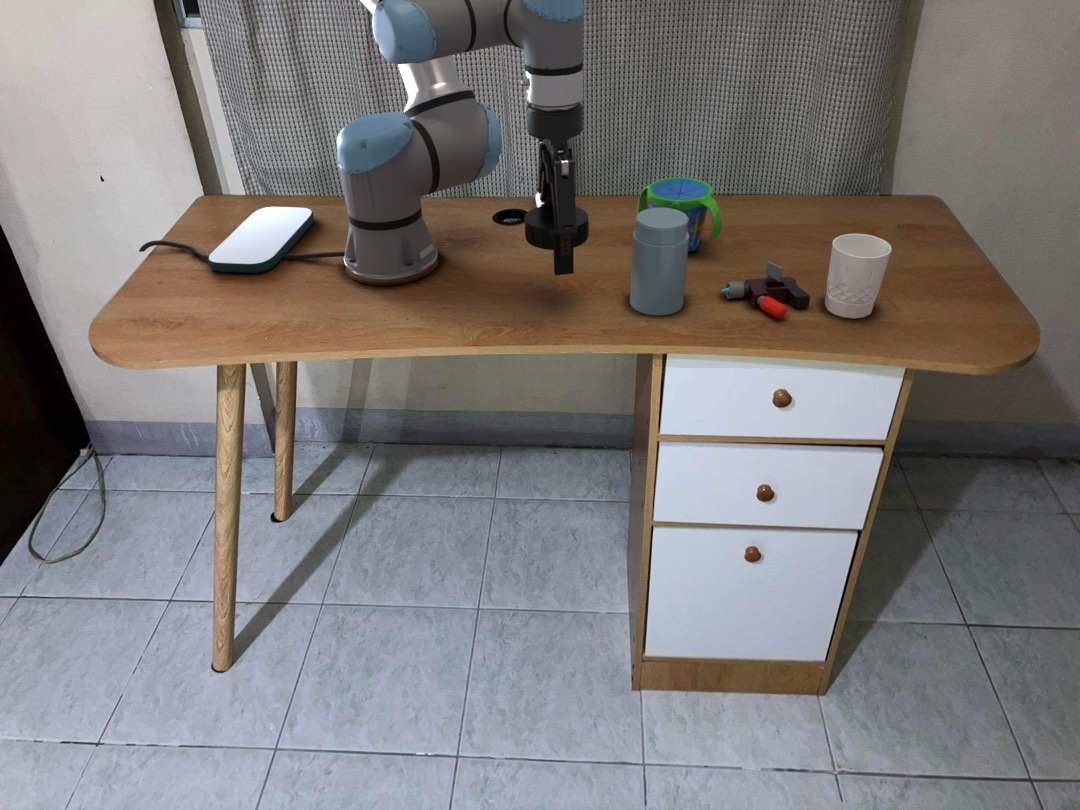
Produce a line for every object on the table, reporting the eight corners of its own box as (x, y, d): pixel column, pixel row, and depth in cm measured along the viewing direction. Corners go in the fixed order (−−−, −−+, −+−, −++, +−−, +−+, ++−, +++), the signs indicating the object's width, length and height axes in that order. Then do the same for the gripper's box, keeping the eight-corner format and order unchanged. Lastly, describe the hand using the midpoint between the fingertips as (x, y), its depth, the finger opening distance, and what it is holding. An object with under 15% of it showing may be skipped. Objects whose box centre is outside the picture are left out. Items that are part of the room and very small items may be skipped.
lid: (567, 219, 126) (567, 199, 124) (600, 240, 119) (600, 220, 117) (514, 232, 122) (513, 212, 120) (545, 255, 116) (545, 234, 114)
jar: (627, 313, 123) (631, 227, 115) (632, 288, 129) (636, 205, 121) (682, 317, 121) (689, 230, 113) (684, 291, 128) (691, 207, 120)
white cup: (814, 295, 126) (826, 233, 120) (867, 294, 125) (882, 233, 120) (827, 321, 119) (840, 257, 113) (883, 321, 119) (899, 257, 113)
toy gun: (717, 292, 127) (720, 263, 124) (793, 288, 128) (798, 259, 125) (734, 324, 119) (738, 294, 116) (815, 319, 120) (821, 289, 117)
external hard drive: (269, 276, 135) (266, 265, 134) (203, 273, 137) (199, 262, 136) (320, 217, 154) (318, 207, 153) (261, 215, 156) (259, 205, 155)
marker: (534, 198, 159) (534, 186, 158) (545, 198, 159) (545, 186, 158) (542, 238, 145) (542, 225, 143) (554, 237, 145) (554, 225, 143)
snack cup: (621, 240, 143) (623, 183, 137) (664, 223, 148) (667, 167, 142) (688, 271, 133) (694, 211, 127) (732, 251, 138) (739, 193, 132)
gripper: (514, 83, 118) (521, 231, 131) (540, 130, 100) (545, 295, 113) (566, 79, 119) (567, 226, 132) (601, 125, 101) (599, 289, 114)
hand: (557, 258), depth 123 cm, fingers closed on lid, 9 cm apart
